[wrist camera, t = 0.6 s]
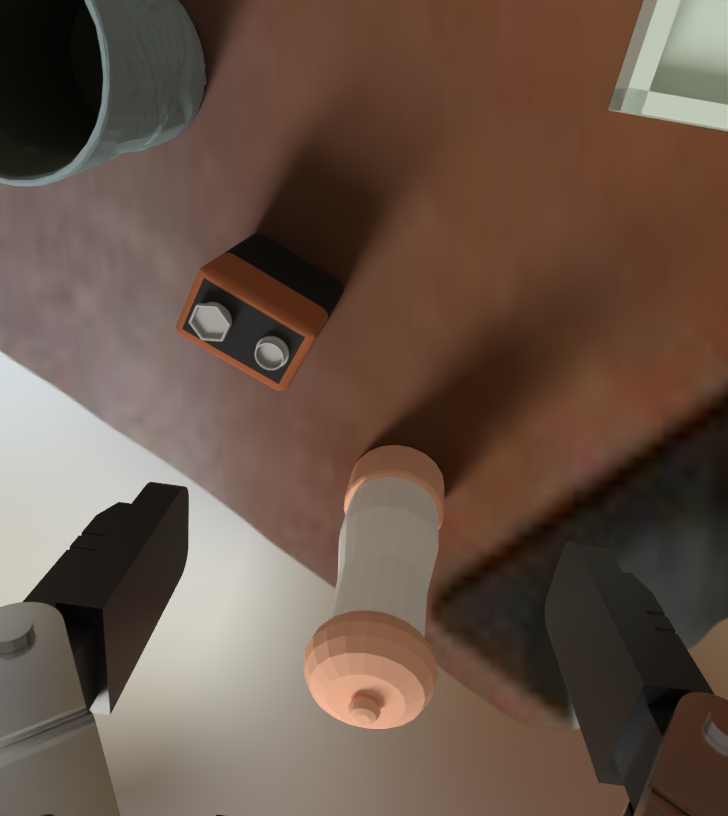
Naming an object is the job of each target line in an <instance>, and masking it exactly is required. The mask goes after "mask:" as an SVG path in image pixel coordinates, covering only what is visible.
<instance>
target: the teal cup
mask: <svg viewBox="0 0 728 816" xmlns="http://www.w3.org/2000/svg"><path fill="white" fill-rule="evenodd" d="M205 68H206V65H205V62H204V53H203V51H202V46H201V43H200V39H199V37H198V34H197V32H196V29H195V26H194V25H193V23H192V21H191V18H190V17H189V15H188V13H187V12H186V10H185V9H184V7H183V6H182V4H181V3H180V2H179V1H178V0H0V183H4V184H8V185H13V186H27V187H30V186H39V185H47V184H50V183H53V182H56V181H59V180H62V179H64V178H67V177H70V176H72V175H75V174H77V173H79V172H81V171H84V170H86V169H89V168H92V167H95V166H98V165H102V164H104V163H106V162H107V161H109V160H110V159H112V158H116V157H118V156H119V155H121V154H122V153H124V152H136V151H140V150H145V149H148V148H150V147H153V146H156V145H159V144H161V143H164V142H166V141H169V140H171V139H173V138H174V137H176V136H178V135H179V134H180V133H181V132H182V131H183V130H184V129H185V128H186V127H187V126H188V125H189V124H190V123H191V122H192V120H193V119H194V118H195V116H196V115H197V114H198V111H199V108H200V105H201V102H202V98H203V95H204V87H205V85H206V75H205Z"/></svg>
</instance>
